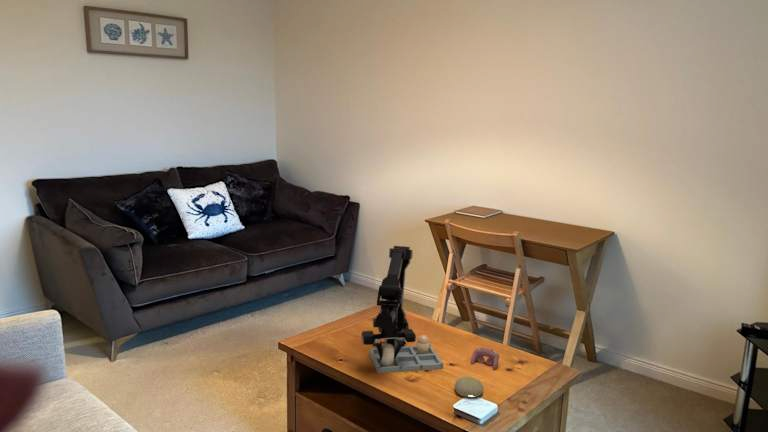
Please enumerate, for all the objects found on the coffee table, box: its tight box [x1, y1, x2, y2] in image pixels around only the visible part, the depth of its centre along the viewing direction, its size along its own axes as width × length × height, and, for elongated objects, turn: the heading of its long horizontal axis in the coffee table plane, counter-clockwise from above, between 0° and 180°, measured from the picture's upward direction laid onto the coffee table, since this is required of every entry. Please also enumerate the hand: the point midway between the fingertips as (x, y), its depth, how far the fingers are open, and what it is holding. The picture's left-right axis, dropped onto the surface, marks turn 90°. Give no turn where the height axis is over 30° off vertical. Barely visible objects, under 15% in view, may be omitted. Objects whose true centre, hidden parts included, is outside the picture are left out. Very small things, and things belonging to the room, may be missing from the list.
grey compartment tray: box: [368, 344, 444, 374], centre depth 216 cm, size 24×16×2 cm
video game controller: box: [470, 347, 500, 370], centre depth 216 cm, size 10×5×7 cm, turn 66°
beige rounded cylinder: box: [416, 334, 430, 355], centre depth 221 cm, size 5×5×8 cm
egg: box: [381, 343, 394, 367], centre depth 210 cm, size 5×5×8 cm
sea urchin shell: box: [454, 376, 484, 397], centre depth 196 cm, size 9×8×8 cm
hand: (387, 358), depth 211 cm, fingers closed on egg, 4 cm apart
